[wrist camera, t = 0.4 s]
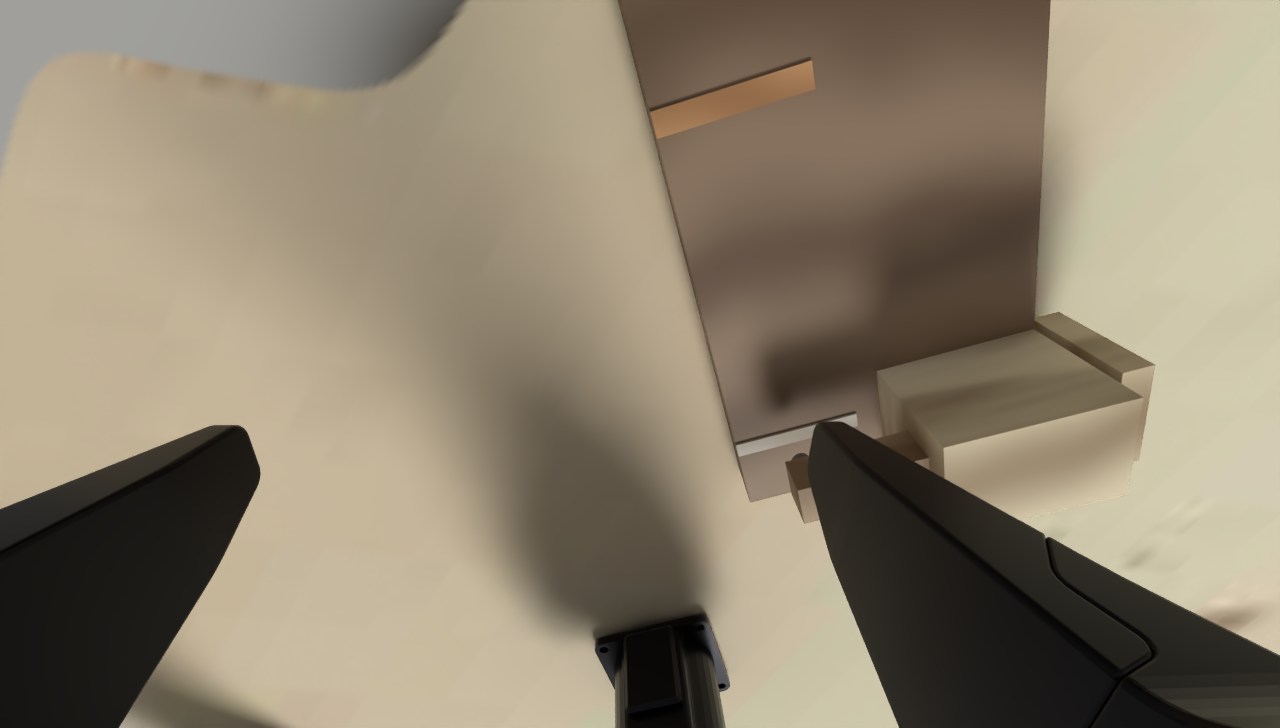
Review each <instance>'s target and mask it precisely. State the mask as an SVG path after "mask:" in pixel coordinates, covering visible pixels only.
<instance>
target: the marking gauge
mask: <svg viewBox="0 0 1280 728" xmlns="http://www.w3.org/2000/svg"><path fill="white" fill-rule="evenodd" d="M1154 369H1155V365H1154V364H1152V363H1151V362H1149V361H1147V360H1145V359H1143V358H1142V357H1140V356H1138V355H1136V354H1134V353H1132V352H1131V351H1129V350H1127V349H1125V348H1123V347H1122V346H1120V345H1118V344H1116V343H1114V342H1112V341H1111V340H1109V339H1107V338H1105V337H1103V336H1102V335H1100V334H1098V333H1096V332H1094V331H1092V330H1091V329H1089V328H1087V327H1085V326H1083V325H1082V324H1080V323H1078V322H1076V321H1074V320H1072V319H1071V318H1069V317H1067V316H1065V315H1063V314H1061V313H1060V312H1056V313H1053V314H1049V315H1045V316H1042V317H1038V318H1034V329H1033V330H1029V331H1025V332H1021V333H1018V334H1014V335H1010V336H1006V337H1003V338H999V339H995V340H991V341H988V342H984V343H980V344H976V345H973V346H969V347H965V348H961V349H958V350H954V351H950V352H946V353H943V354H939V355H935V356H931V357H928V358H924V359H920V360H916V361H913V362H909V363H905V364H901V365H898V366H894V367H890V368H886V369H883V370H879V371H877V381H878V391H879V401H880V411H881V420H882V430H883V437H880V438H876V439H875V440H877V441H878V442H880V443H882V444H884V445H885V446H887V447H889V448H891V449H893V450H894V451H896V452H898V453H900V454H902V455H903V456H905V457H907V458H909V459H911V460H912V461H914V462H916V463H918V464H920V465H921V466H923V467H925V468H927V469H928V470H930V471H932V472H934V473H936V474H937V475H939V476H941V477H943V478H945V479H946V480H948V481H950V482H952V483H954V484H955V485H957V486H959V487H961V488H963V489H964V490H966V491H968V492H970V493H972V494H973V495H975V496H977V497H979V498H980V499H982V500H984V501H986V502H988V503H989V504H991V505H993V506H995V507H997V508H998V509H1000V510H1002V511H1004V512H1006V513H1007V514H1009V515H1011V516H1013V517H1015V518H1016V519H1018V520H1024V519H1028V518H1032V517H1037V516H1041V515H1045V514H1049V513H1053V512H1058V511H1062V510H1066V509H1070V508H1074V507H1079V506H1083V505H1087V504H1091V503H1096V502H1100V501H1104V500H1108V499H1112V498H1117V497H1121V496H1125V495H1128V490H1129V483H1130V477H1131V471H1132V465H1133V462H1134V461H1138V460H1139V457H1140V451H1141V445H1142V439H1143V433H1144V427H1145V422H1146V416H1147V410H1148V404H1149V398H1150V392H1151V386H1152V381H1153V375H1154ZM807 462H808V455H807V454H805V453H798V454H796V455H795V456H794V457H793V458H792V460H790V461H786V462H785V464H786V469H787V474H788V479H789V484H790V488H791V493H792V496H793V498H794V501H795V503H796V505H797V508H798V510H799V512H800V515H801V517H802V519H803V522H804V524H806V523H810V522H814V521H818V520H820V519H819V516H818V512H817V508H816V505H815V501H814V498H813V494H812V490H811V487H810V483H809V479H808V474H807Z"/></svg>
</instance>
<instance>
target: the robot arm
mask: <svg viewBox="0 0 1280 728" xmlns="http://www.w3.org/2000/svg"><path fill="white" fill-rule="evenodd" d="M807 474H808V479H809V483H810V487H811V490H812V494H813V498H814V501H815V505H816V508H817V512H818V516H819V519H820V523H821V526H822V530H823V534H824V537H825V541H826V545H827V548H828V551H829V554H830V558H831V560H832V563H833V566H834V568H835V571H836V574H837V576H838V579H839V581H840V583H841V586H842V588H843V591H844V593H845V596H846V598H847V601H848V603H849V606H850V608H851V610H852V613H853V615H854V618H855V620H856V623H857V625H858V628H859V630H860V633H861V635H862V637H863V640H864V642H865V645H866V647H867V650H868V652H869V655H870V657H871V660H872V662H873V664H874V667H875V669H876V672H877V674H878V677H879V679H880V682H881V684H882V687H883V689H884V691H885V694H886V696H887V699H888V701H889V704H890V706H891V709H892V711H893V714H894V716H895V718H896V721H897V723H898V726H899V728H1280V655H1278V654H1276V653H1274V652H1272V651H1270V650H1268V649H1266V648H1264V647H1262V646H1260V645H1258V644H1256V643H1254V642H1252V641H1250V640H1248V639H1246V638H1244V637H1242V636H1240V635H1238V634H1236V633H1234V632H1232V631H1230V630H1227V629H1225V628H1223V627H1221V626H1219V625H1217V624H1215V623H1213V622H1211V621H1209V620H1207V619H1205V618H1203V617H1201V616H1199V615H1197V614H1195V613H1193V612H1191V611H1189V610H1187V609H1185V608H1183V607H1181V606H1179V605H1177V604H1175V603H1173V602H1171V601H1169V600H1167V599H1165V598H1163V597H1161V596H1159V595H1157V594H1155V593H1153V592H1151V591H1149V590H1147V589H1145V588H1143V587H1141V586H1140V585H1138V584H1136V583H1134V582H1132V581H1130V580H1128V579H1126V578H1124V577H1122V576H1120V575H1118V574H1116V573H1114V572H1113V571H1111V570H1109V569H1107V568H1105V567H1103V566H1101V565H1100V564H1098V563H1096V562H1094V561H1092V560H1090V559H1088V558H1087V557H1085V556H1083V555H1081V554H1079V553H1077V552H1076V551H1074V550H1072V549H1070V548H1068V547H1067V546H1065V545H1063V544H1061V543H1060V542H1058V541H1056V540H1054V539H1052V538H1050V537H1048V538H1045V535H1044V534H1043V533H1041V532H1040V531H1038V530H1036V529H1034V528H1032V527H1031V526H1029V525H1027V524H1025V523H1024V522H1022V521H1020V520H1018V519H1016V518H1015V517H1013V516H1011V515H1009V514H1007V513H1006V512H1004V511H1002V510H1000V509H998V508H997V507H995V506H993V505H991V504H989V503H988V502H986V501H984V500H982V499H980V498H979V497H977V496H975V495H973V494H972V493H970V492H968V491H966V490H964V489H963V488H961V487H959V486H957V485H955V484H954V483H952V482H950V481H948V480H946V479H945V478H943V477H941V476H939V475H937V474H936V473H934V472H932V471H930V470H928V469H927V468H925V467H923V466H921V465H920V464H918V463H916V462H914V461H912V460H911V459H909V458H907V457H905V456H903V455H902V454H900V453H898V452H896V451H894V450H893V449H891V448H889V447H887V446H885V445H884V444H882V443H880V442H878V441H877V440H875V439H873V438H871V437H869V436H868V435H866V434H864V433H862V432H860V431H859V430H857V429H855V428H853V427H851V426H850V425H848V424H846V423H844V422H840V421H822V422H819V423H817V424H816V426H815V428H814V431H813V436H812V441H811V446H810V451H809V456H808V462H807ZM259 480H260V467H259V464H258V461H257V458H256V455H255V452H254V450H253V447H252V444H251V441H250V438H249V435H248V433H247V431H246V430H245V429H244V428H243V427H241V426H239V425H213V426H209V427H206V428H204V429H201V430H199V431H196V432H194V433H191V434H189V435H186V436H184V437H181V438H178V439H176V440H173V441H171V442H168V443H166V444H163V445H161V446H158V447H156V448H153V449H151V450H148V451H146V452H143V453H141V454H138V455H136V456H133V457H131V458H128V459H126V460H123V461H121V462H118V463H116V464H113V465H110V466H108V467H105V468H103V469H100V470H98V471H95V472H93V473H90V474H88V475H85V476H83V477H80V478H78V479H75V480H73V481H70V482H68V483H65V484H63V485H60V486H58V487H55V488H53V489H50V490H48V491H45V492H42V493H40V494H37V495H35V496H32V497H30V498H27V499H25V500H22V501H20V502H17V503H15V504H12V505H10V506H7V507H5V508H2V509H0V728H119V727H120V725H121V723H122V722H123V720H124V718H125V717H126V715H127V714H128V712H129V710H130V709H131V707H132V706H133V704H134V702H135V701H136V699H137V698H138V696H139V694H140V693H141V691H142V689H143V688H144V686H145V685H146V683H147V681H148V680H149V678H150V677H151V675H152V673H153V672H154V670H155V669H156V667H157V665H158V664H159V662H160V661H161V659H162V657H163V656H164V654H165V652H166V651H167V649H168V648H169V646H170V644H171V643H172V641H173V640H174V638H175V636H176V635H177V633H178V632H179V630H180V628H181V627H182V625H183V623H184V622H185V620H186V619H187V617H188V615H189V614H190V612H191V611H192V609H193V607H194V606H195V604H196V603H197V601H198V599H199V598H200V596H201V595H202V593H203V591H204V590H205V588H206V586H207V585H208V583H209V581H210V580H211V578H212V576H213V575H214V573H215V571H216V569H217V567H218V566H219V564H220V562H221V560H222V558H223V556H224V554H225V552H226V550H227V548H228V546H229V544H230V542H231V540H232V538H233V536H234V533H235V531H236V529H237V527H238V525H239V523H240V521H241V519H242V517H243V515H244V513H245V511H246V509H247V507H248V505H249V503H250V501H251V499H252V497H253V494H254V492H255V490H256V488H257V486H258V484H259ZM595 652H596V654H597V656H598V658H599V660H600V662H601V664H602V666H603V668H604V670H605V671H606V673H607V675H608V677H609V679H610V681H611V683H612V685H613V687H614V689H615V728H726V727H725V722H724V716H723V710H722V704H721V699H720V693H719V692H721V691H725V690H727V689H728V688H729V687H730V682H729V677H728V675H727V672H726V669H725V666H724V663H723V660H722V658H721V655H720V652H719V649H718V646H717V643H716V640H715V638H714V635H713V632H712V629H711V626H710V623H709V620H708V618H707V617H705V616H702V615H698V616H693V617H689V618H685V619H680V620H676V621H672V622H668V623H663V624H659V625H655V626H651V627H646V628H642V629H638V630H634V631H629V632H625V633H621V634H617V635H612V636H608V637H604V638H600V639H598V640H597V641H596V643H595Z"/></svg>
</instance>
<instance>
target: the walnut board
mask: <svg viewBox="0 0 1280 728" xmlns="http://www.w3.org/2000/svg"><path fill="white" fill-rule="evenodd" d="M618 2H619V5H620V9H621V13H622V17H623V21H624V25H625V29H626V32H627V36H628V40H629V44H630V48H631V52H632V56H633V59H634V63H635V67H636V71H637V75H638V79H639V83H640V86H641V90H642V94H643V98H644V102H645V106H646V109H647V113H648V117H649V121H650V125H651V129H652V133H653V136H654V140H655V144H656V148H657V152H658V156H659V160H660V163H661V167H662V171H663V175H664V179H665V183H666V187H667V190H668V194H669V198H670V202H671V206H672V210H673V214H674V217H675V221H676V225H677V229H678V233H679V237H680V240H681V244H682V248H683V252H684V256H685V260H686V264H687V267H688V271H689V275H690V279H691V283H692V287H693V291H694V294H695V298H696V302H697V306H698V310H699V314H700V318H701V321H702V325H703V329H704V333H705V337H706V341H707V344H708V348H709V352H710V356H711V360H712V364H713V368H714V371H715V375H716V379H717V383H718V387H719V391H720V395H721V398H722V402H723V406H724V410H725V414H726V418H727V422H728V425H729V429H730V433H731V437H732V441H733V445H734V449H735V452H736V456H737V460H738V464H739V468H740V472H741V475H742V478H743V481H744V484H745V487H746V491H747V494H748V497H749V500H750V502H754V501H758V500H762V499H766V498H770V497H774V496H778V495H782V494H786V493H790V492H791V488H790V484H789V479H788V474H787V469H786V464H785V462H786V461H790V460H792V458H793V457H794V456H795V455H796V454H798V453H805V454H807V455H808V456H809V451H810V446H811V441H812V436H813V431H814V428H815V426H816V424H817V423H819V422H822V421H840V422H844V423H846V424H848V425H850V426H851V427H853V428H855V429H857V430H859V431H860V432H862V433H864V434H866V435H868V436H869V437H871V438H873V439H876V438H880V437H883V430H882V420H881V411H880V401H879V391H878V381H877V371H879V370H883V369H886V368H890V367H894V366H898V365H901V364H905V363H909V362H913V361H916V360H920V359H924V358H928V357H931V356H935V355H939V354H943V353H946V352H950V351H954V350H958V349H961V348H965V347H969V346H973V345H976V344H980V343H984V342H988V341H991V340H995V339H999V338H1003V337H1006V336H1010V335H1014V334H1018V333H1021V332H1025V331H1029V330H1033V329H1034V315H1035V295H1036V275H1037V256H1038V236H1039V216H1040V197H1041V177H1042V157H1043V138H1044V118H1045V98H1046V79H1047V59H1048V39H1049V20H1050V0H618Z"/></svg>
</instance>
